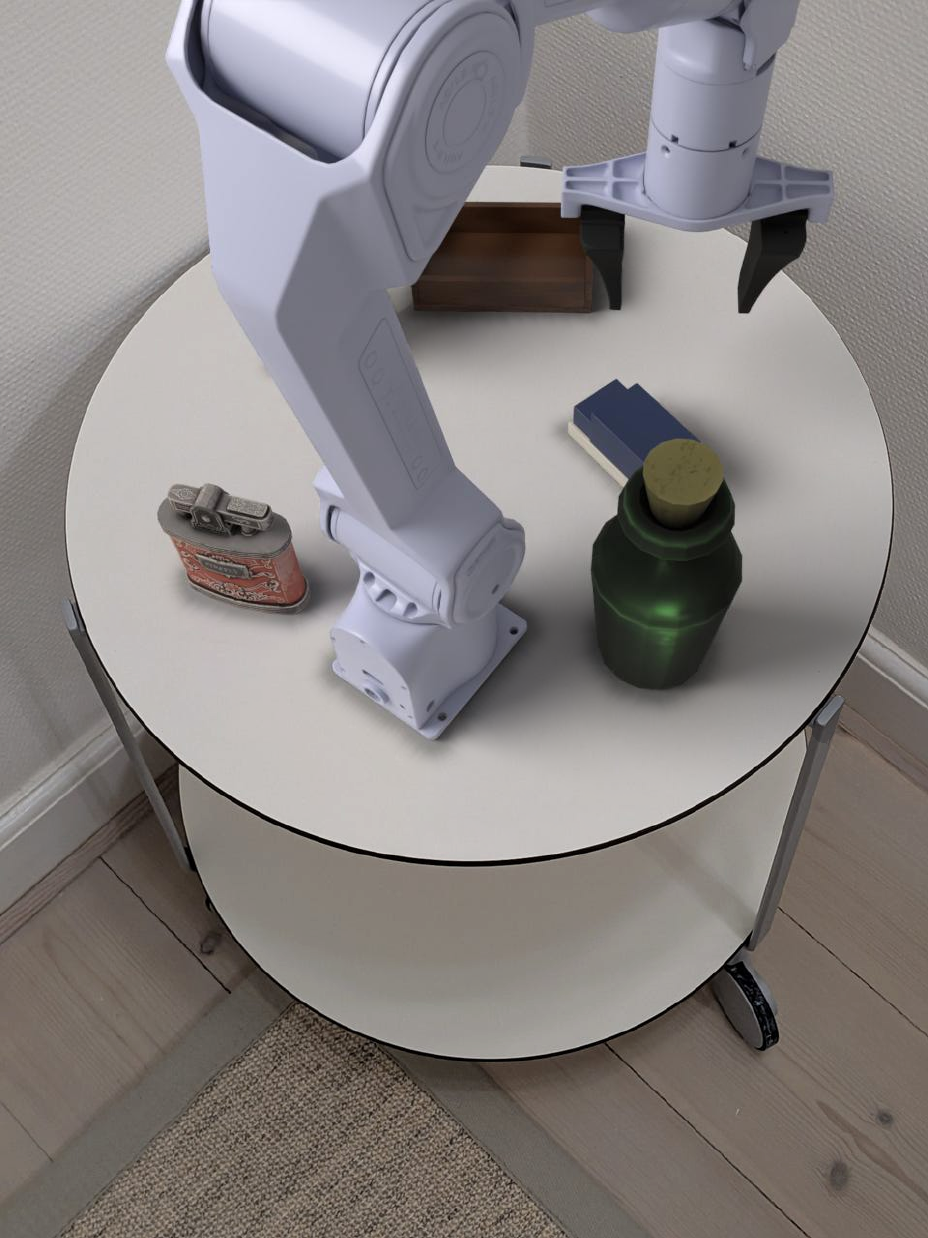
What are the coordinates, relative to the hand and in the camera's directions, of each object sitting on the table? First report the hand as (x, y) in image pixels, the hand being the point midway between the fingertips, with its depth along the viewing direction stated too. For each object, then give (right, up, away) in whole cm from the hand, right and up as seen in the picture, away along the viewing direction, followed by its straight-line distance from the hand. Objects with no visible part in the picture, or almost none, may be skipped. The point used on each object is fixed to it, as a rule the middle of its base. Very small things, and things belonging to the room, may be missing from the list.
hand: (679, 299), depth 75 cm
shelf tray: (-10, +6, +14) cm, 18 cm away
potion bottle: (-2, -21, 0) cm, 21 cm away
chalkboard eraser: (-2, -9, +6) cm, 11 cm away
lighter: (-26, -17, +3) cm, 32 cm away
